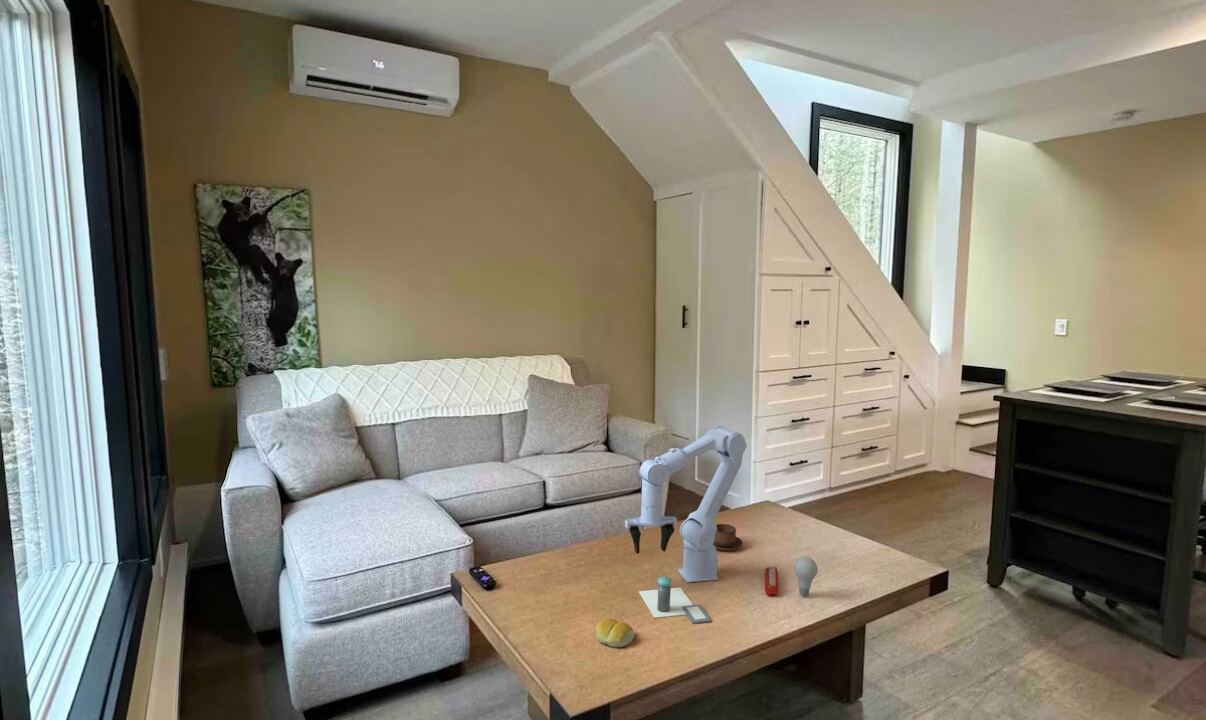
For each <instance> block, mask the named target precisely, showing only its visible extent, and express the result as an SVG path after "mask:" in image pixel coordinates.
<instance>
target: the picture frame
mask: <svg viewBox="0 0 1206 720" xmlns="http://www.w3.org/2000/svg"><path fill="white" fill-rule="evenodd" d="M682 609H683V610H684V612H685V613H686V615H685V616H687V619H688V620H689V621H690V622H691V624H693V625H695V624H696V625H698V624H705V623H706V624H707V623H712V622H713V621H712V619H711V618H710V616H709V615H708V613H707V612H706V611H705V610H704V608H703V607H702V606H701V605H700V604H693V605H690V606H682Z"/></svg>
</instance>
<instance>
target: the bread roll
mask: <svg viewBox="0 0 1206 720" xmlns="http://www.w3.org/2000/svg"><path fill="white" fill-rule="evenodd" d="M595 637H596V639H597V641H598V642H599V643H600V644H602V645H607V646H609V647H611V648H624V647H626V646H627V645H629V644H631V642H632V641H634V638H635V632H634V629H633V627H632V626H631V625H630V624H628V623H626V622H624V621H623V622H622V621H621V622H619V621H618V620H616V619H614V618H606V619H604V620H602V621H601V622H599V623H598V624H597V625H596V627H595Z"/></svg>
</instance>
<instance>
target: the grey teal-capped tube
mask: <svg viewBox="0 0 1206 720" xmlns="http://www.w3.org/2000/svg"><path fill="white" fill-rule="evenodd" d="M671 586H672V579H671V578H670V577H667V576H661V577H660V576H659V577H658V579H657V587H658V588H657V590H658V605H657V610H658V611H660V612H669V611H670V591H671V588H672V587H671Z"/></svg>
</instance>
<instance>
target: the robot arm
mask: <svg viewBox="0 0 1206 720" xmlns="http://www.w3.org/2000/svg"><path fill="white" fill-rule="evenodd" d="M747 446H748V445H747V442H746V438H745V436H744V435H743V434H742V433H741V432H736V431H733V430H730V429H727V428H725V427H723V426H720V425H719V426H715V427H713V429H709V430H708V431H707V432H706V434H705V435H703V436H702V437H700V438H698V439H696V440H695V441H693V442H692V443H690V444H688V445H687V446H685V447H683V448H682V449H681V448H679V447H678V448H677V447H675V448H673V447H671V448H669V449H668V452H666V453H663V454H662V455H659V456H656V457H655V458H654V460H653V459H647V460H644V461H643V463H642V464H641V465H640V467H639V469H638V475H639V477H640V478H641V509H640V510H641V511H640V516H639V517H634V518H629V519H625V520H624V528H626V530H628V531H629V534H630V536H631V539H632V543H633V546H634V552H635V554H638V555H639V554H640V544H641V543H640V540H641V534H642V532H641V531H640V528H642V527H643V528H644V527H659V526H660V533H661V537H660V538H661V539H660V549H661V551H662V552H667V551H666V550H667V548H668V544H669V542H670V539H671V537H672V535H673V533H674V532H675V527H674V526H677V525H678V518H677V517H676V516H663V493H664V491H663V490H664V483H665V482H666V481H667V479H668V477H669V476H670V475H672V474H674V473H676V472H678V471H680V470H682V469H683V468H685V467H686V466H687V464H688V461H690V460H691V459H694V458H696V457H698V456H700V455H702V454H705V453H707V452H709V451H715V452H716V453H717V454H718V458H719V461H720V464H719V466H718V467H717V470H716V472H715V474H714V476H713V478H712V479H711V482H710V484H709V486H708V487H707V489H706V491H705V493H704V496H703V498H702V500H701V501H700V504H699V507H698V508H697V510H695V511H692V512H691V513H689V515H688V516H687V518H686V519H685V520H684V521H683V522H682V524H681V525H680V527H679V534H680V537H681V538H683V558H682V559H683V562H682V563H683V564H682V568H678V569H677V571H678V573H679V574H680V575H681V576H682V578H683V579H684V581H685V582H686V583H692V582H693V583H695V582H706V581H707V582H709V581H717V580H718V579H719V578H718V561H719V559H718V558H719V555H718V551H717V550H718V549H716V548H715V546H714V545H713V543H714V540H715V533H716V531H717V526H716V525H717V524H716V517H717V516H718V514H719V511H720V509H721V508H722V505H723V503H724V501H725V499H726V497H727V495H728V493H729V491H730V489H731V487H732V485H733V482H734V481H735V479H736V477H737V474H738V473H739V470H740V468H741V467H742V463H743V455H744V453H745V451H746V448H747Z"/></svg>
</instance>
